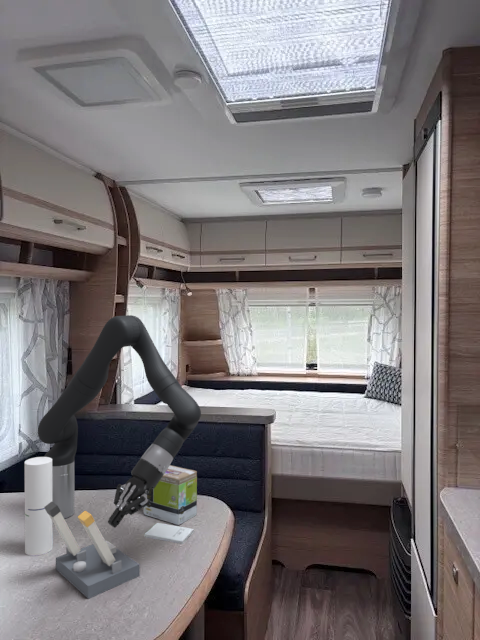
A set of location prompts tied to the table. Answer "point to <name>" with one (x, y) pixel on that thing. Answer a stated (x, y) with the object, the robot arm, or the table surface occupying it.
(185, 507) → the tea box
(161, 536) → the external hard drive
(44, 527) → the cylindrical container
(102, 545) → the amber lever
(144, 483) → the robot arm
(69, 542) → the black lever
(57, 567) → the switch panel
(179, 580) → the table surface
